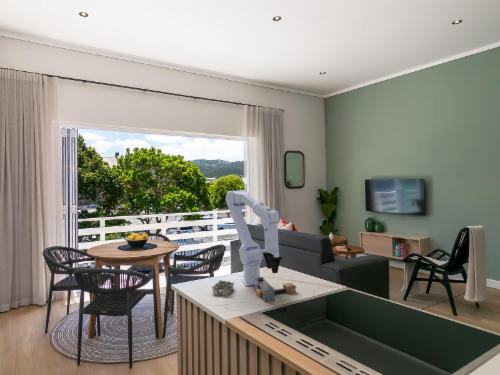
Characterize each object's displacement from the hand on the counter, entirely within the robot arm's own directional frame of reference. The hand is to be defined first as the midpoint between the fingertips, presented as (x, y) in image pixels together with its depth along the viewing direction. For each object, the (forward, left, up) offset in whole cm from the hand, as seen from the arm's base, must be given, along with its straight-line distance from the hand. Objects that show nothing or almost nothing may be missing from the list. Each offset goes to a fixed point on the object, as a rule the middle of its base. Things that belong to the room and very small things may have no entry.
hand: (272, 270), depth 147 cm
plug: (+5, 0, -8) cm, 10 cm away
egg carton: (-6, -21, -9) cm, 23 cm away
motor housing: (+4, -5, -8) cm, 11 cm away
